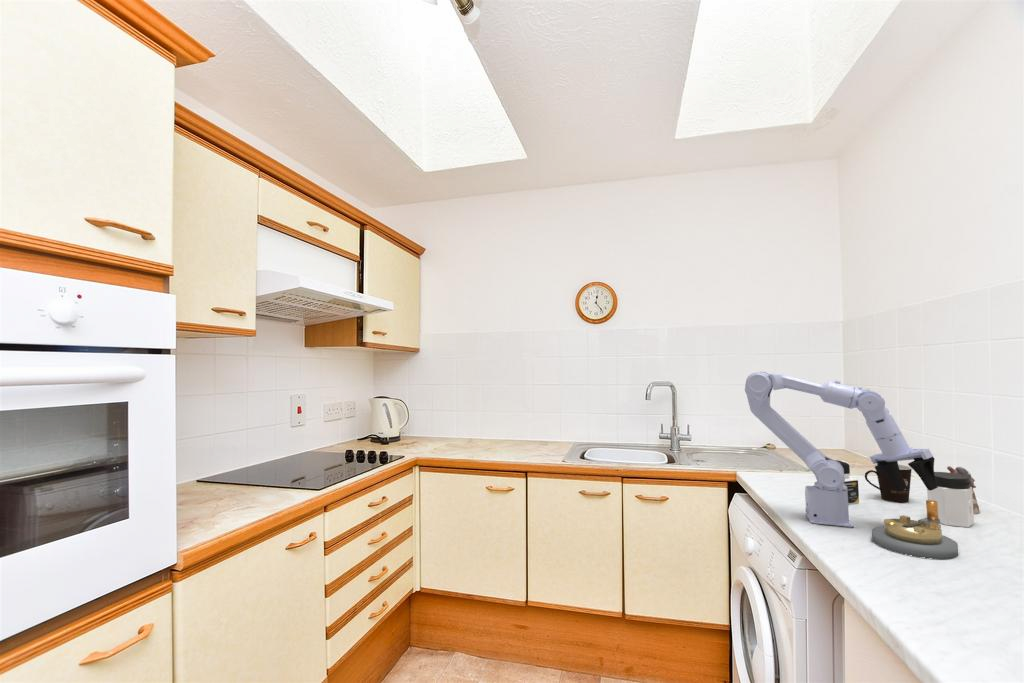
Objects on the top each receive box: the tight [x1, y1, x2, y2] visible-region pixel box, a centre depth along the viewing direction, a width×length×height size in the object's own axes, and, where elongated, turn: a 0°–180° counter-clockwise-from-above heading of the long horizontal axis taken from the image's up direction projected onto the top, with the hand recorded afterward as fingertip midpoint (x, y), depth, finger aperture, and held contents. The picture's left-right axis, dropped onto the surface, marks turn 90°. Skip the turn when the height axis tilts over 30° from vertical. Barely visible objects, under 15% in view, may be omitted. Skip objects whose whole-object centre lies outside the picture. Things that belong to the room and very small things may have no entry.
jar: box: [926, 471, 975, 528], centre depth 123 cm, size 9×8×12 cm
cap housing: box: [870, 525, 959, 560], centre depth 107 cm, size 15×15×2 cm
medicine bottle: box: [835, 459, 860, 505], centre depth 142 cm, size 7×7×12 cm
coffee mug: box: [864, 464, 913, 504], centre depth 143 cm, size 12×9×10 cm
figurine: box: [946, 465, 981, 515], centre depth 132 cm, size 7×7×12 cm
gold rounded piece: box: [883, 499, 943, 545], centre depth 108 cm, size 14×10×7 cm
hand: (917, 489), depth 115 cm, fingers open, 7 cm apart
